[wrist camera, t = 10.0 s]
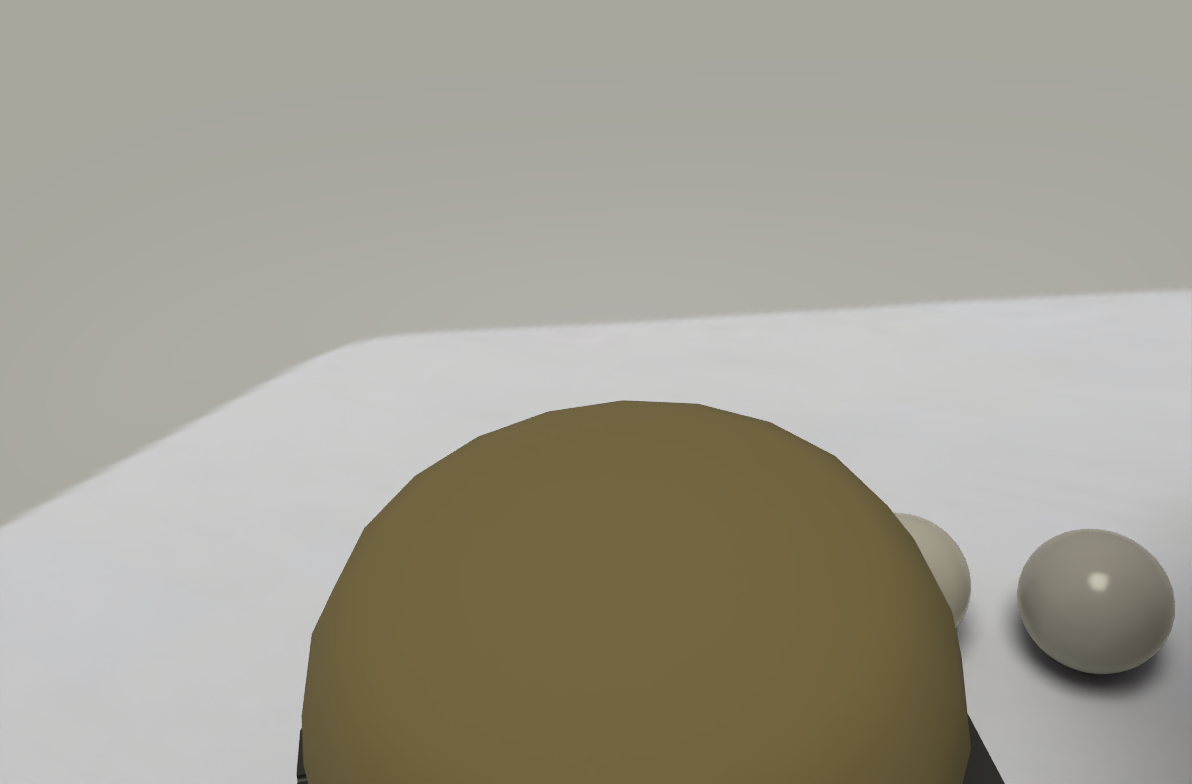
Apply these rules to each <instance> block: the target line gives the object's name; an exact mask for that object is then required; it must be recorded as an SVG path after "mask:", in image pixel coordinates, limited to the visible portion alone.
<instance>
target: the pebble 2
mask: <svg viewBox="0 0 1192 784" xmlns="http://www.w3.org/2000/svg"><path fill="white" fill-rule="evenodd" d="M1017 599H1018V608H1019V613H1020V616H1021V619H1022V622H1023V624H1024V626H1025V628H1026V630H1027V632H1028V633H1029V635H1030V637H1031V638H1032V639H1033V641H1034V642H1035V643H1036V644H1037V645H1038V646H1039V647H1040V648H1041V649H1042V650H1043V651H1044V652H1045V653H1046V654H1047V655H1048V656H1050V657H1051V658H1053V659H1054V660H1056V661H1058V662H1059V663H1061V664H1063V665H1065V666H1067V667H1070V668H1072V669H1075V670H1078V671H1082V672H1086V673H1093V674H1112V673H1119V672H1124V671H1127V670H1130V669H1132V668H1135V667H1137V666H1139V665H1141V664H1143V663H1144V662H1146V661H1147V660H1149V659H1150V658H1151V657H1153V656H1154V655H1155V654H1156V653H1157V652H1158V651H1159V650H1160V648H1161V647H1162V646H1163V644H1164V643H1165V642H1166V640H1167V638H1168V636H1169V634H1170V632H1171V629H1172V626H1173V622H1174V617H1175V599H1174V594H1173V589H1172V586H1171V583H1170V581H1169V578H1168V576H1167V574H1166V572H1165V571H1164V569H1163V568H1162V566H1161V565H1160V563H1159V562H1158V561H1157V560H1156V558H1155V557H1154V556H1153V555H1152V554H1151V553H1149V552H1148V551H1147V550H1146V549H1145V548H1144V547H1142V546H1141V545H1140V544H1138V543H1137V542H1135V541H1133V540H1131V539H1129V538H1127V537H1125V536H1123V535H1120V534H1117V533H1114V532H1110V531H1106V530H1099V529H1080V530H1074V531H1069V532H1065V533H1063V534H1060V535H1058V536H1055V537H1053V538H1051V539H1050V540H1048V541H1046V542H1045V543H1044V544H1042V545H1041V546H1040V547H1039V548H1038V549H1037V550H1036V551H1035V552H1034V553H1033V554H1032V555H1031V556H1030V557H1029V559H1028V561H1027V562H1026V564H1025V566H1024V567H1023V570H1022V573H1021V576H1020V578H1019V583H1018V590H1017Z"/></svg>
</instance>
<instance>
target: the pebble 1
mask: <svg viewBox="0 0 1192 784" xmlns="http://www.w3.org/2000/svg"><path fill="white" fill-rule="evenodd" d="M894 514H895V516H896V517H897V518H898V519H899V521H900V522H901V523H902V524H903V526H904V527H905V528H906V529H907V531H908V532H909V533H910V534H911V536H912V537H913V538H914V539H915V541H916V543H917V545H918V547H919V549H920V551H921V553H922V555H923V557H924V559H925V560H926V562H927V564H928V566H929V568H930V570H931V572H932V574H933V576H934V578H935V580H936V582H937V583H938V585H939V587H940V589H941V591H942V593H943V595H944V597H945V599H946V601H947V603H948V604H949V606H950V608H951V610H952V613H953V618H954V623H955V628H957V626H958V625H959V624H960V622H961V620H962V619H963V617H964V615H965V613H966V610H967V608H968V604H969V600H970V594H971V578H970V572H969V568H968V565H967V562H966V559H965V557H964V555H963V553H962V551H961V550H960V548H959V546H958V545H957V544H956V542H955V541H954V540H953V539H952V538H951V537H950V536H949V535H948V534H947V533H946V532H945V531H944V530H943V529H942V528H940V527H939V526H937V525H935V524H934V523H932V522H930V521H928V520H926V519H924V518H921V517H918V516H915V515H910V514H903V513H894Z"/></svg>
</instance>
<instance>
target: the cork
mask: <svg viewBox="0 0 1192 784" xmlns="http://www.w3.org/2000/svg"><path fill="white" fill-rule="evenodd" d="M302 740H303V766H304V769H305V773H306V777H307V781H308V784H962V783H963V779H964V775H965V771H966V767H967V763H968V759H969V755H970V751H971V744H970V735H969V725H968V715H967V706H966V696H965V686H964V677H963V667H962V658H961V653H960V648H959V643H958V638H957V633H956V628H955V623H954V618H953V613H952V610H951V608H950V606H949V604H948V603H947V601H946V599H945V597H944V595H943V593H942V591H941V589H940V587H939V585H938V583H937V582H936V580H935V578H934V576H933V574H932V572H931V570H930V568H929V566H928V564H927V562H926V560H925V559H924V557H923V555H922V553H921V551H920V549H919V547H918V545H917V543H916V541H915V539H914V538H913V537H912V536H911V534H910V533H909V532H908V531H907V529H906V528H905V527H904V526H903V524H902V523H901V522H900V521H899V519H898V518H897V517H896V516H895V514H894V513H893V512H892V511H891V509H890V508H889V507H888V506H887V505H886V504H885V503H884V502H883V501H882V500H881V499H880V498H879V497H878V496H877V495H876V494H875V493H874V492H872V491H871V490H870V489H869V488H868V487H867V486H866V485H865V484H864V483H863V482H862V481H861V480H860V479H859V478H858V477H857V476H856V475H855V474H853V473H852V472H851V471H850V470H849V469H848V468H847V467H846V466H845V465H844V464H843V463H842V462H841V461H840V460H839V459H838V458H837V457H835V456H834V455H832V454H830V453H828V452H826V451H824V450H822V449H820V448H819V447H817V446H815V445H813V444H811V443H809V442H807V441H805V440H803V439H801V438H799V437H797V436H796V435H794V434H792V433H790V432H788V431H786V430H784V429H782V428H780V427H778V426H776V425H774V424H773V423H771V422H767V421H763V420H759V419H755V418H752V417H748V416H744V415H740V414H736V413H732V412H728V411H724V410H720V409H716V408H712V407H708V406H704V405H701V404H690V403H668V402H645V401H616V402H609V403H603V404H596V405H589V406H583V407H576V408H569V409H563V410H556V411H549V412H546V413H543V414H540V415H538V416H535V417H532V418H529V419H526V420H524V421H521V422H518V423H515V424H512V425H510V426H507V427H504V428H501V429H499V430H496V431H493V432H490V433H487V434H485V435H482V436H479V437H477V438H475V439H474V440H472V441H470V442H469V443H467V444H466V445H464V446H462V447H461V448H459V449H458V450H456V451H454V452H453V453H451V454H450V455H448V456H446V457H445V458H443V459H442V460H440V461H438V462H437V463H435V464H434V465H432V466H430V467H429V468H427V469H425V470H424V471H422V472H421V473H419V474H417V475H416V476H414V478H413V479H412V480H411V481H410V482H409V483H408V484H407V485H406V486H405V487H404V488H403V489H402V490H401V491H400V492H399V493H398V494H397V495H396V496H395V497H394V498H393V499H392V500H391V501H390V502H389V503H388V504H387V505H386V506H385V508H384V509H383V510H382V511H381V512H380V513H379V514H378V515H377V516H376V517H375V518H374V519H373V520H372V521H371V522H370V523H369V524H368V525H367V526H366V527H365V528H364V530H363V532H362V534H361V536H360V538H359V540H358V542H357V544H356V546H355V548H354V550H353V552H352V554H351V555H350V557H349V559H348V561H347V563H346V565H345V567H344V569H343V571H342V573H341V575H340V577H339V579H338V581H337V583H336V585H335V587H334V589H333V591H332V593H331V595H330V597H329V599H328V601H327V603H326V605H325V608H324V610H323V612H322V614H321V616H320V618H319V620H318V622H317V624H316V627H315V629H314V631H313V633H312V637H311V645H310V654H309V662H308V670H307V678H306V686H305V694H304V702H303V710H302Z"/></svg>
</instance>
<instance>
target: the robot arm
mask: <svg viewBox="0 0 1192 784" xmlns="http://www.w3.org/2000/svg"><path fill="white" fill-rule="evenodd" d="M967 715H968V713H967ZM968 725H969V735H970V744H971V751H970V755H969V759H968V763H967V767H966V771H965V775H964V779H963V783H962V784H1005V783H1004V781H1003V780H1002V778H1001V776H1000V774H999V772H998V770H997V768H996V766H995V764H994V763H993V761H992V759H991V757H990V755H989V753H988V751H987V749H986V747H985V746H984V744H983V742H982V740H981V738H980V736H979V734H978V732H977V730H976V729H975V727H974V725H973V723H972V721H971V719H970V717H969V715H968ZM297 780H298V783H297V784H308V781H307V777H306V773H305V769H304V766H303V740H302V729H301V730H300V740H299V752H298V764H297Z"/></svg>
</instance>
